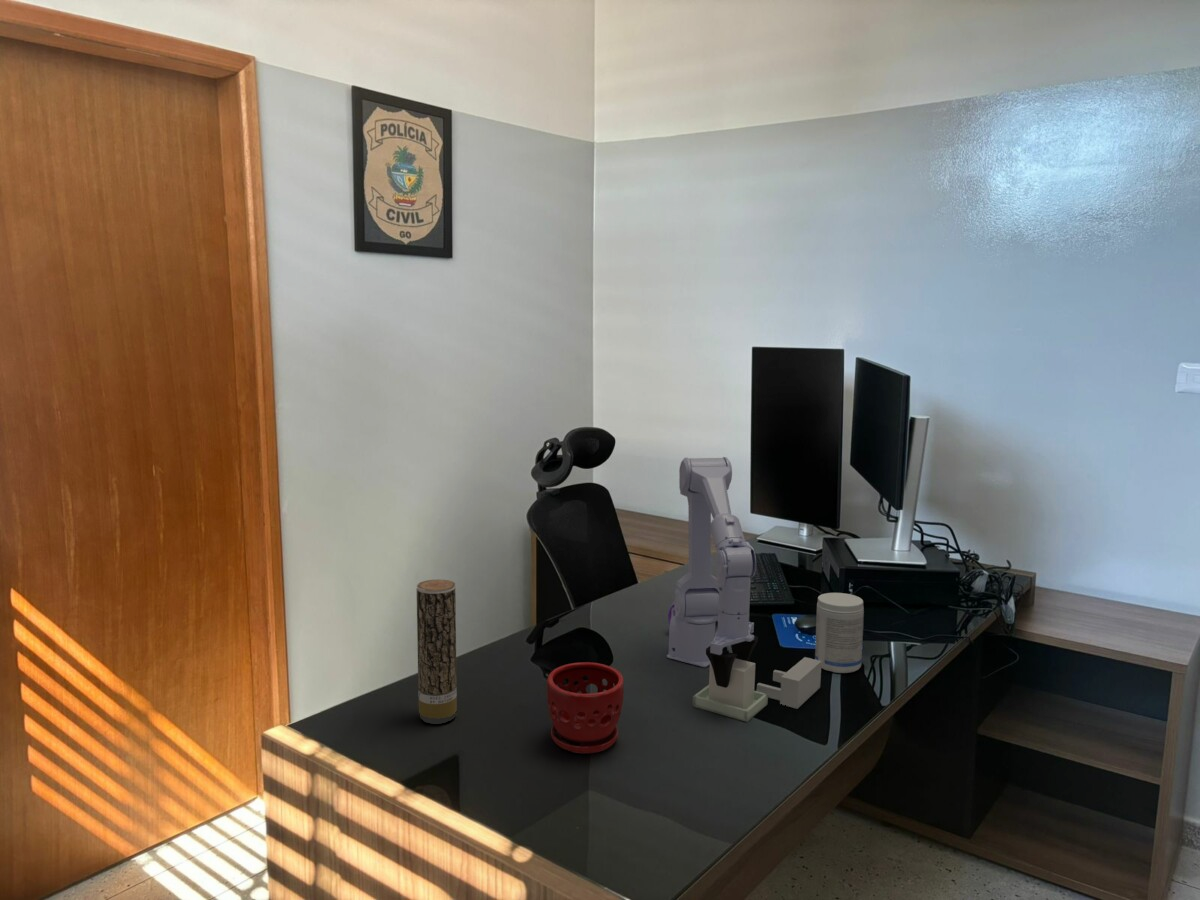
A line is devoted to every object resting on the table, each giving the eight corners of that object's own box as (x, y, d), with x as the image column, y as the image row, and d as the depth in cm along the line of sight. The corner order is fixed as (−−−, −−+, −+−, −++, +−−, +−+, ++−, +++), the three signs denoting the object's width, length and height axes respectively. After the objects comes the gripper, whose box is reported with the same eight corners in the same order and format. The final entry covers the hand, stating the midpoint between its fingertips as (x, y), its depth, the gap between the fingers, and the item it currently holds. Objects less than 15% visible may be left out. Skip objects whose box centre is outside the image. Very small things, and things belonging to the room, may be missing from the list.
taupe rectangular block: (705, 702, 167) (706, 662, 165) (717, 693, 171) (718, 654, 170) (742, 713, 162) (744, 671, 161) (753, 703, 167) (755, 663, 165)
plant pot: (532, 738, 153) (532, 672, 151) (592, 718, 161) (593, 655, 159) (576, 769, 143) (576, 699, 141) (638, 746, 150) (639, 679, 149)
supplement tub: (870, 668, 185) (874, 601, 183) (839, 678, 180) (843, 609, 178) (835, 653, 193) (838, 589, 191) (804, 662, 188) (807, 596, 186)
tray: (692, 706, 166) (692, 696, 166) (714, 689, 174) (715, 680, 173) (747, 722, 160) (747, 711, 160) (767, 704, 168) (768, 694, 167)
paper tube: (463, 713, 162) (462, 581, 158) (445, 729, 156) (443, 592, 152) (430, 707, 164) (428, 577, 161) (411, 722, 158) (409, 588, 154)
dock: (753, 696, 171) (754, 669, 170) (777, 676, 181) (778, 651, 180) (797, 708, 166) (798, 681, 165) (820, 687, 176) (821, 661, 175)
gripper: (736, 625, 156) (733, 697, 158) (769, 603, 168) (766, 671, 170) (701, 617, 160) (698, 688, 162) (735, 596, 172) (733, 663, 174)
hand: (731, 679), depth 166 cm, fingers open, 7 cm apart
